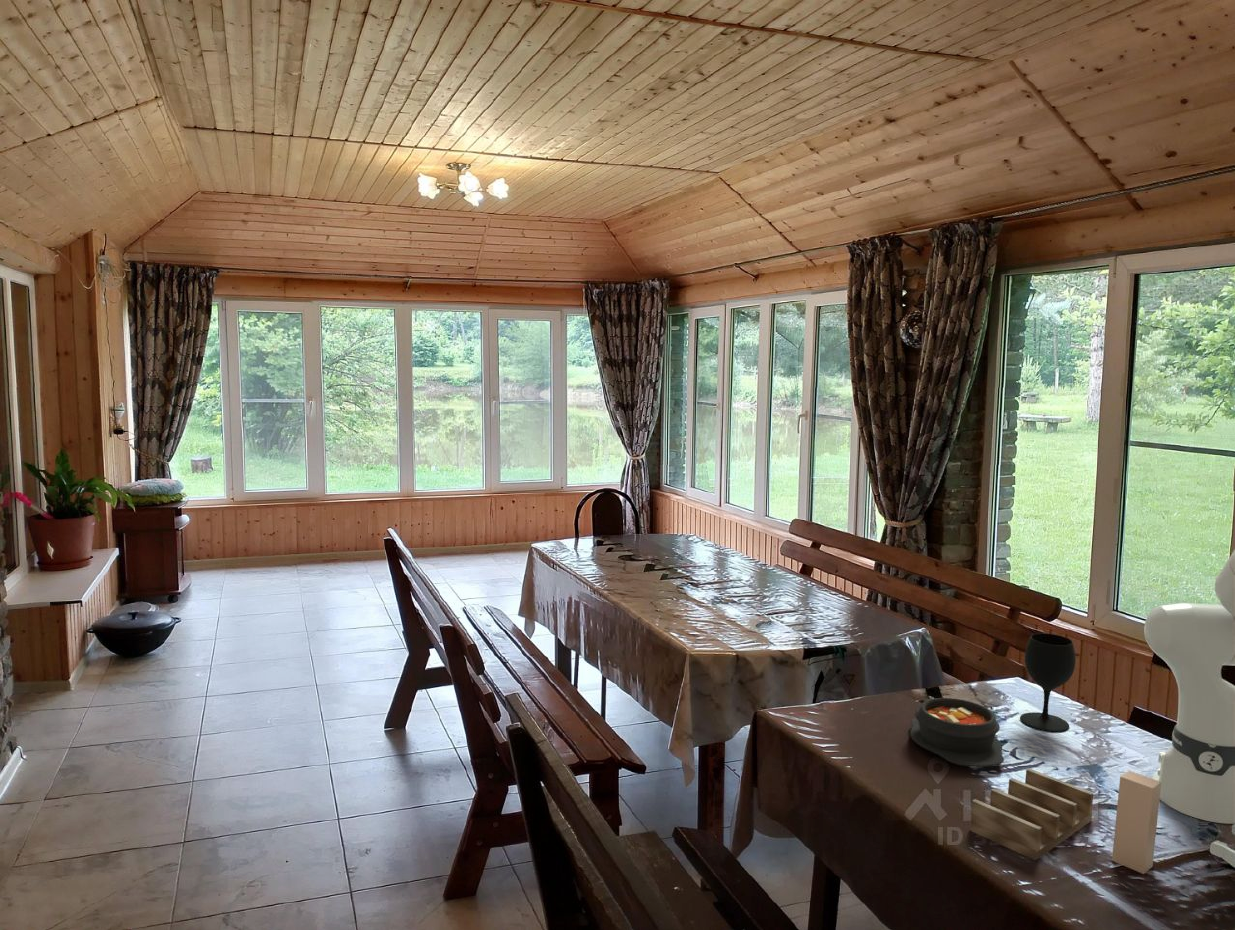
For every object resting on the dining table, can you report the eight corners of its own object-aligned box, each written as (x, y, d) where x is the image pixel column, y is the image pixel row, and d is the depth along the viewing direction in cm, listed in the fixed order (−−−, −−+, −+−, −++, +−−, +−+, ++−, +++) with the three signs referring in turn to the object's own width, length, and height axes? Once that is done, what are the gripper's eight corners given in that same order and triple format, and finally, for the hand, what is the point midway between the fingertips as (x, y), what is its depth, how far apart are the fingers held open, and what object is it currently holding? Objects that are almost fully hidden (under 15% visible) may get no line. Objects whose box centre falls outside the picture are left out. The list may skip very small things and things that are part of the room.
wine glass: (1055, 713, 214) (1062, 632, 211) (1078, 732, 203) (1086, 647, 201) (1011, 713, 213) (1018, 631, 211) (1033, 732, 203) (1040, 646, 200)
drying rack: (1091, 820, 165) (1094, 792, 165) (1035, 860, 152) (1038, 829, 151) (1027, 794, 175) (1029, 767, 174) (969, 830, 161) (971, 801, 161)
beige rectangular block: (1152, 866, 151) (1161, 781, 149) (1143, 874, 149) (1152, 788, 147) (1120, 853, 155) (1129, 770, 153) (1111, 860, 153) (1120, 776, 151)
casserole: (1026, 775, 183) (1029, 735, 182) (936, 776, 182) (939, 736, 181) (971, 723, 208) (973, 688, 206) (891, 724, 206) (893, 688, 205)
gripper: (1354, 833, 136) (1247, 798, 147) (1315, 880, 123) (1200, 837, 134) (1349, 872, 137) (1243, 834, 148) (1309, 923, 124) (1196, 877, 135)
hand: (1222, 836), depth 141 cm, fingers open, 8 cm apart
